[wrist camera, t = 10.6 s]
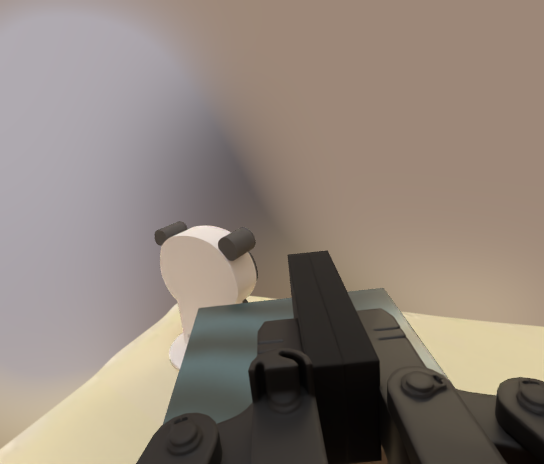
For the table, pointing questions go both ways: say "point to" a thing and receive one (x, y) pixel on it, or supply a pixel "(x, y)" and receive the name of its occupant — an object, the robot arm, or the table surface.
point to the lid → (248, 353)
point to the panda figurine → (204, 272)
